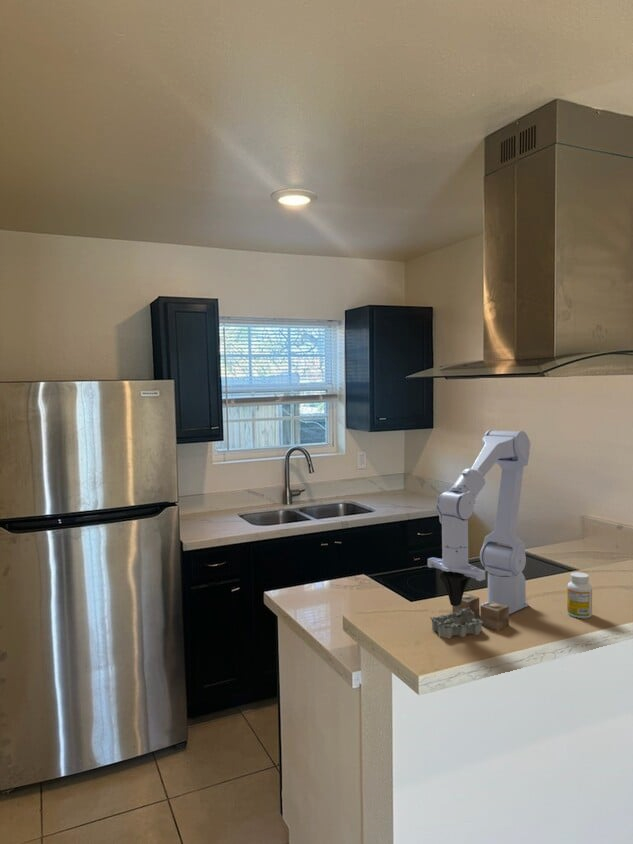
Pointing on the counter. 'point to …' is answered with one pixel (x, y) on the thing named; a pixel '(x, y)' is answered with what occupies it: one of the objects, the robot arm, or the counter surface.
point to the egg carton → (457, 623)
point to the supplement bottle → (579, 596)
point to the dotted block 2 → (495, 615)
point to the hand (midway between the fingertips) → (455, 604)
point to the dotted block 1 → (468, 604)
